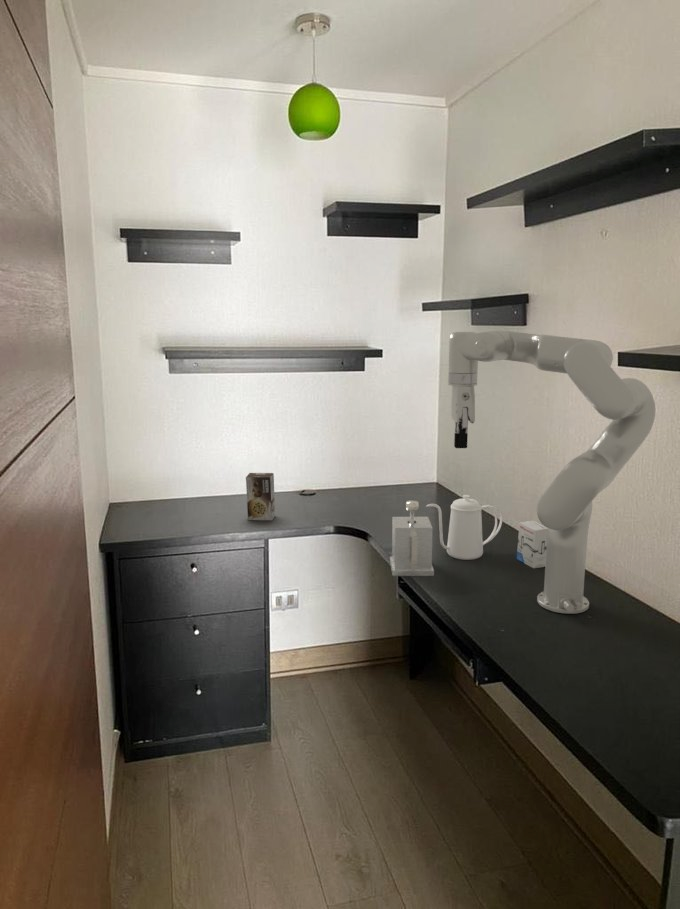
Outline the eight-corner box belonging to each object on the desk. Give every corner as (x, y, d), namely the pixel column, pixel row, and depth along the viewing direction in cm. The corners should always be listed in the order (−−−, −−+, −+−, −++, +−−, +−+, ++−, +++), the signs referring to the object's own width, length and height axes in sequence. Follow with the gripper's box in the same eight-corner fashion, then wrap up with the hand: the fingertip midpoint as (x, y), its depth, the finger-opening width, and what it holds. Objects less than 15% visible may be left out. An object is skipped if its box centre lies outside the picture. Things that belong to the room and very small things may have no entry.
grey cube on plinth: (435, 579, 191) (436, 531, 189) (393, 579, 191) (393, 531, 189) (428, 561, 205) (429, 516, 202) (389, 561, 205) (390, 516, 202)
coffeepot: (418, 552, 212) (419, 493, 208) (491, 545, 219) (494, 487, 215) (432, 565, 202) (433, 503, 198) (508, 556, 209) (511, 496, 205)
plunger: (424, 566, 196) (426, 505, 192) (400, 566, 196) (401, 505, 192) (422, 557, 203) (423, 498, 199) (398, 557, 203) (398, 498, 199)
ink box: (515, 559, 207) (517, 521, 204) (529, 556, 208) (531, 519, 206) (533, 568, 199) (535, 530, 196) (547, 566, 200) (550, 528, 198)
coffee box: (275, 515, 251) (274, 472, 248) (272, 520, 245) (270, 476, 242) (251, 515, 252) (249, 472, 249) (247, 520, 246) (245, 476, 243)
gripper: (482, 382, 174) (480, 453, 178) (471, 376, 189) (469, 442, 192) (453, 382, 174) (451, 453, 178) (444, 376, 189) (442, 442, 192)
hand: (460, 447), depth 185 cm, fingers closed
